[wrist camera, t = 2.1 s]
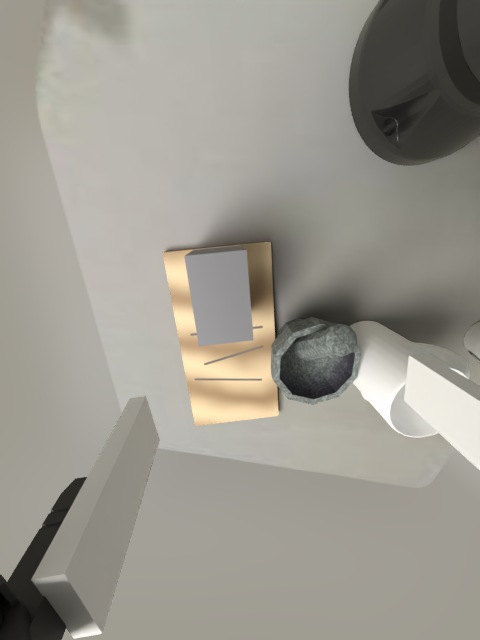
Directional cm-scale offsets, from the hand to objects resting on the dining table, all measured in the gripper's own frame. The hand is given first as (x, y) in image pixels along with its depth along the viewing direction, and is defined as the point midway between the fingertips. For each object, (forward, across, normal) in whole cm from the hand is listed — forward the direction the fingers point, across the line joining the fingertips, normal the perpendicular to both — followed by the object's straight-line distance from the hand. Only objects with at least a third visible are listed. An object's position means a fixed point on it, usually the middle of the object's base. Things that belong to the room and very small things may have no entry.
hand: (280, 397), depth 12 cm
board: (+19, -3, -5) cm, 20 cm away
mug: (+20, +17, -9) cm, 27 cm away
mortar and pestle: (+20, +6, -6) cm, 21 cm away
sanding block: (+18, -3, +3) cm, 19 cm away
